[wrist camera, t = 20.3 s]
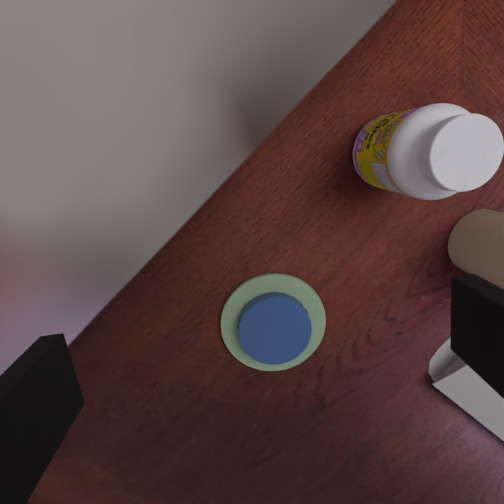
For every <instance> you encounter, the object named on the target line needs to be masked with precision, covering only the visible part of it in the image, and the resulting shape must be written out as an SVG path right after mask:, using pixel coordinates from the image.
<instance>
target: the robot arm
mask: <svg viewBox="0 0 504 504" xmlns="http://www.w3.org/2000/svg"><path fill="white" fill-rule="evenodd" d="M450 349H451V350H452V351H453V352H454V353H455V354H456V355H457V356H458V357H459V358H461V359H462V360H463V361H464V362H465V363H466V364H467V365H468V366H469V367H470V368H471V369H472V370H473V371H474V372H475V373H477V374H478V375H479V376H480V377H481V378H482V379H483V380H484V381H485V382H486V383H487V384H488V385H489V386H490V387H491V388H493V389H494V390H495V391H496V392H497V393H498V394H499V395H500V396H501V397H502V398H503V399H504V289H502V288H500V287H498V286H496V285H494V284H493V283H491V282H489V281H487V280H485V279H483V278H481V277H479V276H478V275H476V274H469V275H462V276H455V277H452V288H451V346H450ZM84 403H85V402H84V399H83V395H82V392H81V389H80V386H79V383H78V379H77V376H76V373H75V370H74V366H73V363H72V360H71V357H70V354H69V350H68V347H67V344H66V341H65V338H64V334H63V333H62V334H55V335H48V336H42V337H39V338H38V339H37V340H36V341H35V342H34V343H33V344H32V345H31V346H30V347H29V348H28V349H27V350H26V351H25V352H24V353H23V354H22V355H21V356H20V357H19V358H18V359H17V360H16V361H15V362H14V363H13V364H12V365H11V366H10V367H9V368H8V369H7V370H6V371H5V372H4V373H3V374H2V375H1V376H0V504H26V503H27V501H28V499H29V498H30V496H31V494H32V492H33V491H34V489H35V487H36V486H37V484H38V482H39V480H40V479H41V477H42V475H43V474H44V472H45V470H46V468H47V467H48V465H49V463H50V461H51V460H52V458H53V456H54V455H55V453H56V451H57V449H58V448H59V446H60V444H61V443H62V441H63V439H64V437H65V436H66V434H67V432H68V431H69V429H70V427H71V425H72V424H73V422H74V420H75V419H76V417H77V415H78V413H79V412H80V410H81V408H82V406H83V405H84Z"/></svg>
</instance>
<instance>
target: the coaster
mask: <svg viewBox="0 0 504 504" xmlns="http://www.w3.org/2000/svg"><path fill="white" fill-rule="evenodd" d="M275 291H276V292H281V293H286V294H288V295H291V296H294V298H296V299H297V300H298V301H299V302H301V303H302V305H303V306H304V308H305V309H306V310H307V312H308V316H309V318H310V320H311V326H312V333H311V338H310V341H309V343H308V345H307V347H306V349H305V350H304V351H303V352H302V353H301V354H300V355H299V356H298V357H296V358H295V359H293V360H291V361H289V362H287V363H283V364H278V365H269V364H264V363H260V362H258V361H256V360H254V359H253V358H251V357H250V356H249V355H248V354H247V353H246V352H245V351H244V349H243V348H242V346H241V344H240V341H239V339H238V331H237V325H238V321H239V316H240V314H241V312H242V310H243V308H244V307H245V306H246V305H247V303H248V302H249V301H251V300H252V299H253V298H255V297H256V296H259V295H261V294H264V293H269V292H275ZM325 325H326V316H325V310H324V307H323V304H322V302H321V300H320V298H319V297H318V295H317V293H316V292H315V291H314V290H313V289H312V288H311V287H310V286H309V285H308V284H307V283H305V282H304V281H302V280H301V279H299V278H297V277H294V276H291V275H287V274H282V273H268V274H262V275H259V276H255V277H253V278H251V279H249V280H247V281H245V282H244V283H242V284H241V285H239V286H238V287H237V288H236V289H235V290H234V291H233V292H232V293H231V295H230V296H229V297H228V299H227V301H226V303H225V305H224V308H223V310H222V315H221V333H222V338H223V340H224V343H225V345H226V347H227V348H228V350H229V351H230V352H231V354H232V355H233V356H234V357H235V358H236V359H238V360H239V361H240V362H241V363H243V364H245V365H247V366H249V367H251V368H254V369H258V370H263V371H279V370H285V369H288V368H291V367H294V366H296V365H298V364H300V363H301V362H303V361H304V360H306V359H307V358H308V357H309V356H310V355H311V354H312V353H313V352H314V351H315V350H316V349H317V347H318V345H319V344H320V342H321V340H322V338H323V335H324V331H325Z"/></svg>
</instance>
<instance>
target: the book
mask: <svg viewBox="0 0 504 504" xmlns="http://www.w3.org/2000/svg"><path fill="white" fill-rule="evenodd" d="M450 346H451V336H450V337H449V338H448V339H447V340H446V341H445V342H444V343H443V344H442V345H441V346H440V347H439V348H438V349H437V350H436V352H435V353H434V355H433V356H432V358H431V359H430V361H429V369H428V373H429V375H430V376H431V378H432V380H433V381H434V383H432V385H433V386H435V387H436V388H437V389H439V390H440V391H441V392H442V393H444V394H445V395H446V396H447V397H449V398H450V399H451V400H452V401H454V402H455V403H456V404H457V405H459V406H460V407H461V408H462V409H464V410H465V411H466V412H468V413H469V414H470V415H471V416H473V417H474V418H475V419H476V420H478V421H479V422H480V423H481V424H483V425H484V426H485V427H486V428H488V429H489V430H490V431H492V432H493V433H494V434H495V435H497V436H498V437H499V438H500V439H502V440H503V441H504V399H503V398H502V397H501V396H500V395H499V394H498V393H497V392H496V391H495V390H494V389H493V388H491V387H490V386H489V385H488V384H487V383H486V382H485V381H484V380H483V379H482V378H481V377H480V376H479V375H478V374H477V373H475V372H474V371H473V370H472V369H471V368H470V367H469V366H468V365H467V364H466V363H465V362H464V361H463V360H462V359H461V358H459V357H458V356H457V355H456V354H455V353H454V352H453V351H452V350H451V349H450Z"/></svg>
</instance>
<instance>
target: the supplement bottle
mask: <svg viewBox="0 0 504 504" xmlns="http://www.w3.org/2000/svg"><path fill="white" fill-rule="evenodd" d="M503 152H504V142H503V137H502V134H501V132H500V130H499V128H498V126H497V125H496V124H495V123H494V122H493V121H492V120H490V119H489V118H487V117H485V116H483V115H479V114H471V113H470V112H469V111H467V110H465V109H464V108H462V107H460V106H457V105H453V104H447V103H439V104H432V105H427V106H423V107H419V108H414V109H409V110H405V111H400V112H396V113H391V114H387V115H383V116H380V117H377V118H375V119H373V120H372V121H370V122H369V123H368V124H366V125H365V127H364V128H363V129H362V130H361V131H360V133H359V134H358V136H357V138H356V141H355V144H354V147H353V162H354V166H355V169H356V171H357V173H358V174H359V175H360V177H361V178H362V179H363V180H364V181H365V182H367V183H368V184H370V185H372V186H375V187H377V188H381V189H385V190H389V191H392V192H396V193H400V194H404V195H407V196H411V197H414V198H419V199H423V200H438V199H443V198H446V197H449V196H451V195H454V194H455V193H457V192H465V191H470V190H473V189H476V188H478V187H480V186H482V185H483V184H485V183H486V182H487V181H488V180H489V179H490V178H491V177H492V176H493V175H494V174H495V172H496V171H497V169H498V167H499V165H500V163H501V160H502V157H503Z"/></svg>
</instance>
